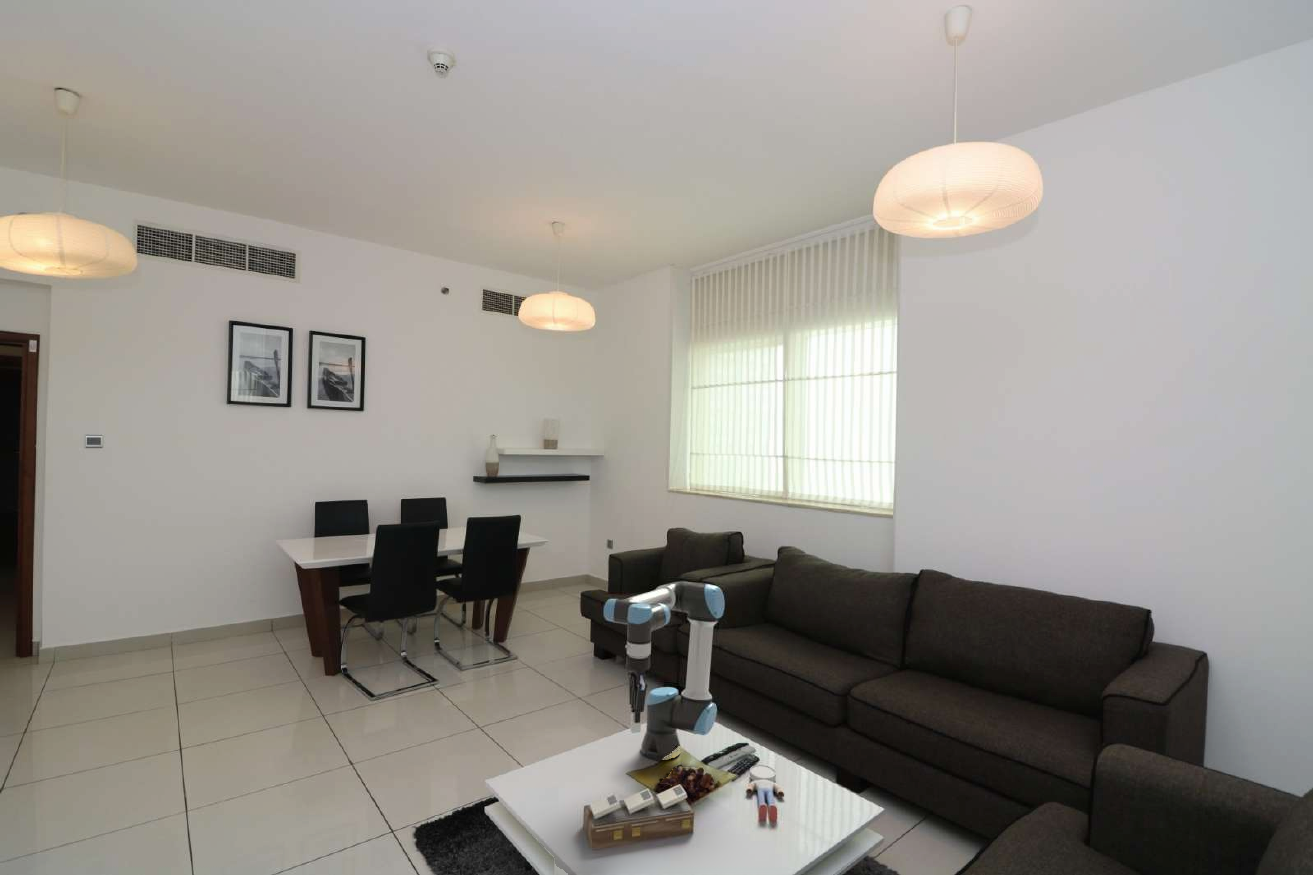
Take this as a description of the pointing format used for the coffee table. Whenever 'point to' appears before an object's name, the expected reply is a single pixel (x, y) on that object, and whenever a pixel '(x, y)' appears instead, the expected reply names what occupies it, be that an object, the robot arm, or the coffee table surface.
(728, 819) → the coffee table surface
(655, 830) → the wooden storage box
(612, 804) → the rocker
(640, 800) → the block
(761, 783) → the toy
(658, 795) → the rocker
